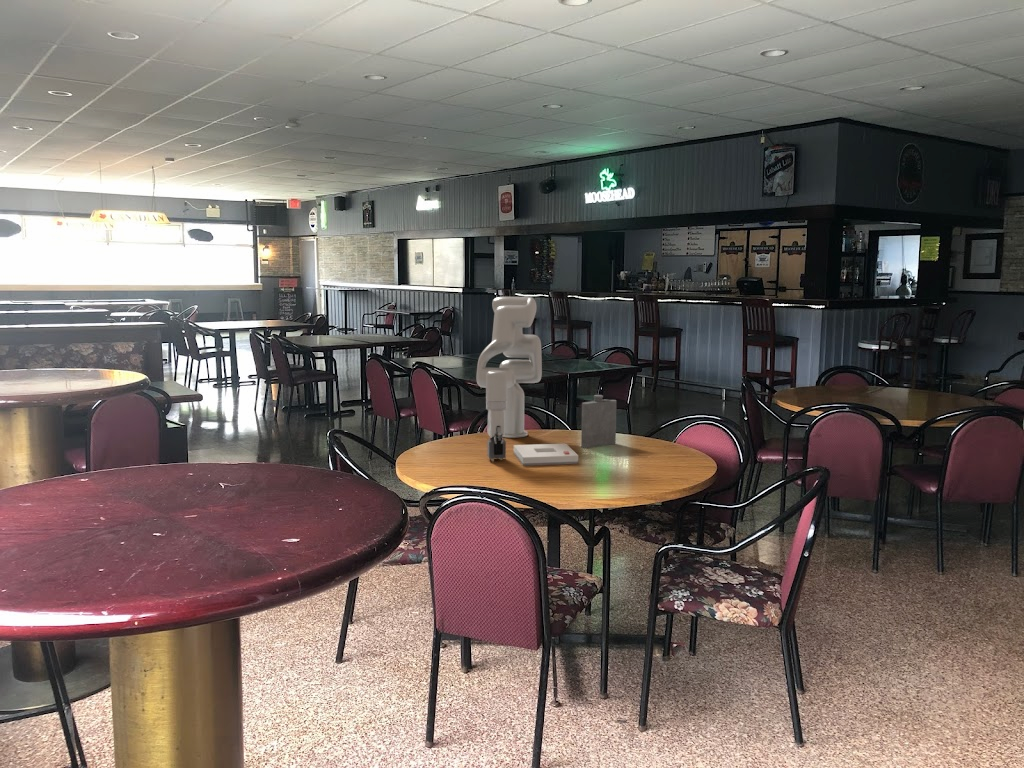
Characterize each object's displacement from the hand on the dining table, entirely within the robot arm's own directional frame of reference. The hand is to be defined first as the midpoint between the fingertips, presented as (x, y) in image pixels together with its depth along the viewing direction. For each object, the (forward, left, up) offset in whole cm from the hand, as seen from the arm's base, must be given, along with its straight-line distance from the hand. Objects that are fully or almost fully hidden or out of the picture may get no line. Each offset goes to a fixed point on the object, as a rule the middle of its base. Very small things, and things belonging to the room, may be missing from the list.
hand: (496, 451), depth 290 cm
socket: (0, +18, -3) cm, 18 cm away
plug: (0, 0, -3) cm, 3 cm away
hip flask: (-18, +43, -3) cm, 47 cm away
